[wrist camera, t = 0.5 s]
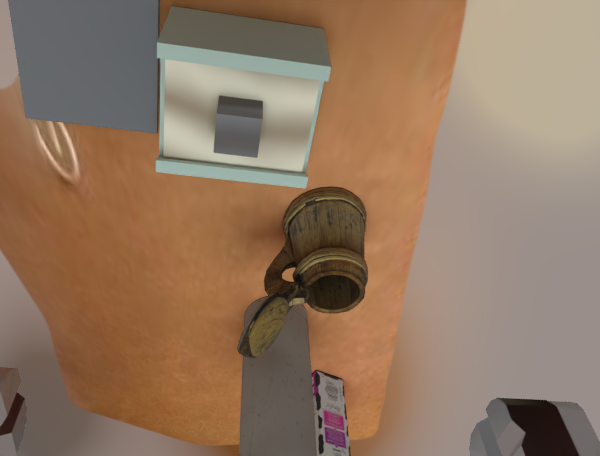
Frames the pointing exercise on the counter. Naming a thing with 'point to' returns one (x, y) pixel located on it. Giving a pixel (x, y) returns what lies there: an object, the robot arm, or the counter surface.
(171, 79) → the cover lid
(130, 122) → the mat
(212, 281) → the counter surface
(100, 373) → the counter surface
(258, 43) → the box
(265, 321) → the wooden mug
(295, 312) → the thermos bottle
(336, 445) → the candy bar box
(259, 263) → the counter surface
